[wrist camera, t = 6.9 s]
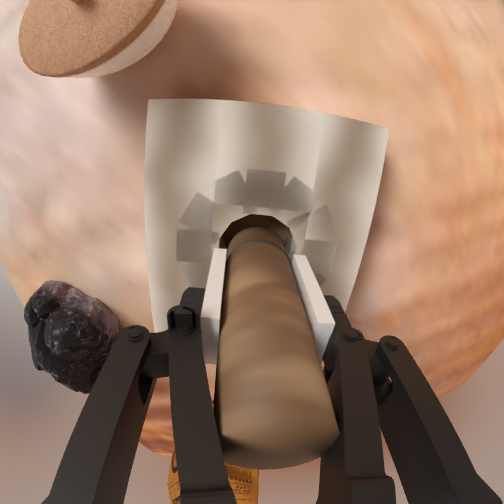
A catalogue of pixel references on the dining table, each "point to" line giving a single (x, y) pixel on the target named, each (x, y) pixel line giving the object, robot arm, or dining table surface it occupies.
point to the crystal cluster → (69, 334)
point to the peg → (268, 362)
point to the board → (255, 188)
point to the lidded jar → (91, 34)
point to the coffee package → (239, 479)
